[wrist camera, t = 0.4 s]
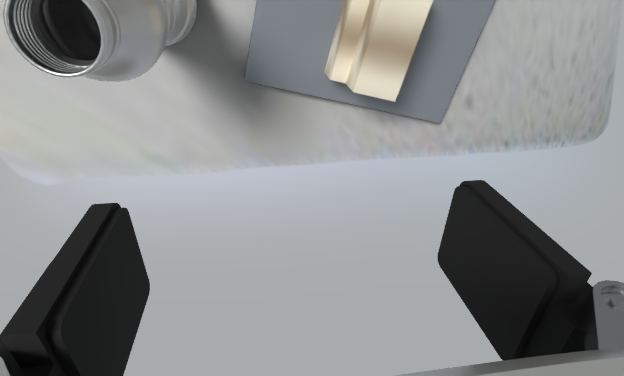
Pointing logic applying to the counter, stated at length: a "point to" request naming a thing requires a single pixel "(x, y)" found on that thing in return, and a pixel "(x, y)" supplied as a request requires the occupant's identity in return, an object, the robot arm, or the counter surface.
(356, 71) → the stepped block
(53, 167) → the counter surface
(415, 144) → the counter surface
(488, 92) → the counter surface
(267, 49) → the slate board
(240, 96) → the counter surface
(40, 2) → the plastic bottle
